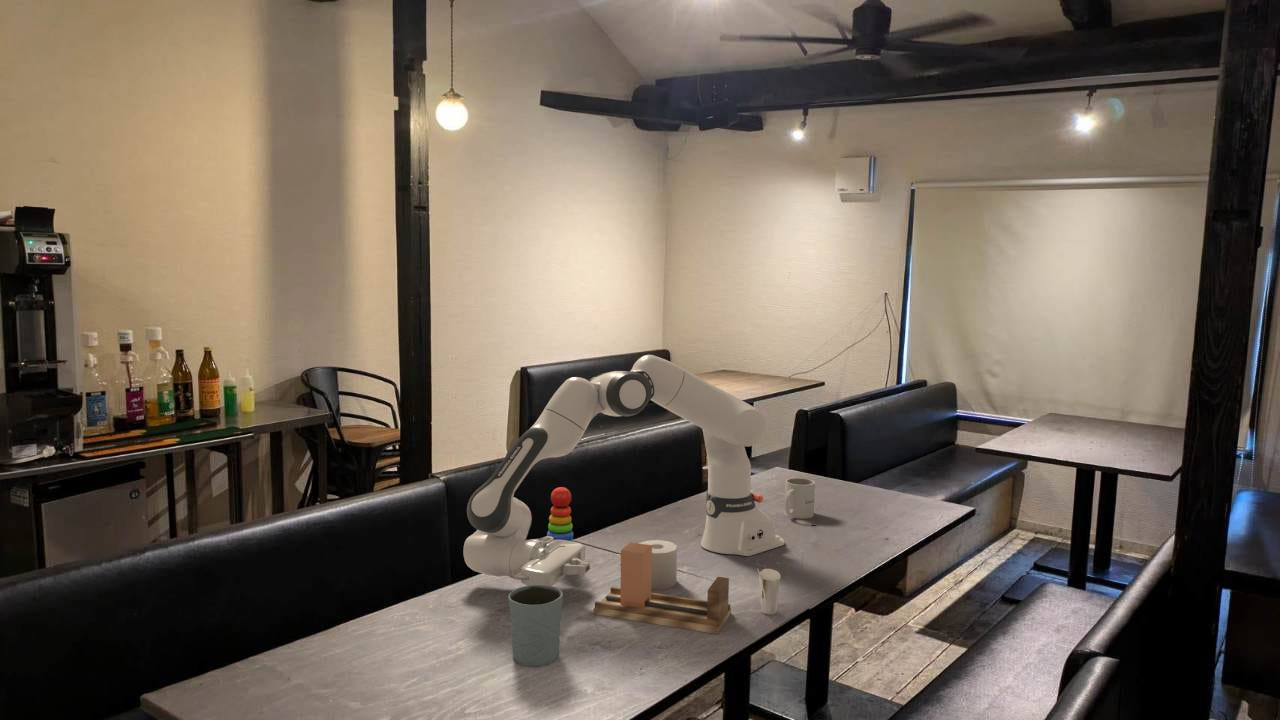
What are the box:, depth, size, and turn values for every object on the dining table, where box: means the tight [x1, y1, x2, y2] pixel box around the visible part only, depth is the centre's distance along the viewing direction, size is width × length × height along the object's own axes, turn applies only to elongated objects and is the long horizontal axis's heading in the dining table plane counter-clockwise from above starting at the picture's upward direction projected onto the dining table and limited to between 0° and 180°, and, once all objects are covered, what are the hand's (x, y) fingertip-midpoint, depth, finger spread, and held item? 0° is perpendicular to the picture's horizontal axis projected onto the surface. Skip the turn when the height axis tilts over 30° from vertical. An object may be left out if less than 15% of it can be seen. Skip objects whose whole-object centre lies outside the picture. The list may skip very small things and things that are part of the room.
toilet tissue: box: [619, 539, 678, 591], centre depth 194 cm, size 9×13×9 cm
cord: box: [605, 594, 707, 615], centre depth 177 cm, size 24×1×1 cm, turn 70°
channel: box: [593, 576, 732, 635], centre depth 177 cm, size 27×11×8 cm, turn 70°
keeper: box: [620, 541, 652, 609], centre depth 178 cm, size 5×6×12 cm
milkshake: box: [756, 567, 782, 616], centre depth 178 cm, size 4×5×10 cm
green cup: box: [508, 585, 564, 668], centre depth 157 cm, size 10×10×12 cm
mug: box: [784, 477, 816, 520], centre depth 249 cm, size 12×9×10 cm
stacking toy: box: [546, 486, 575, 542], centre depth 207 cm, size 8×8×19 cm
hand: (587, 568), depth 182 cm, fingers closed
